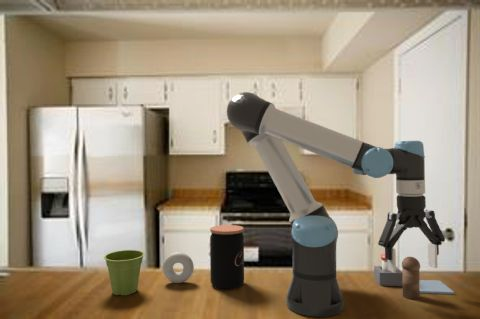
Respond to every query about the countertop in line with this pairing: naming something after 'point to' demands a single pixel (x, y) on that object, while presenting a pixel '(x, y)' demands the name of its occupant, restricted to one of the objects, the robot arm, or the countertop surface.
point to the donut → (178, 276)
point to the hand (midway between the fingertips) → (412, 269)
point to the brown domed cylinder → (411, 278)
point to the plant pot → (124, 270)
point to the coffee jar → (227, 256)
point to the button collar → (388, 277)
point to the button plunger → (384, 263)
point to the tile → (434, 287)
